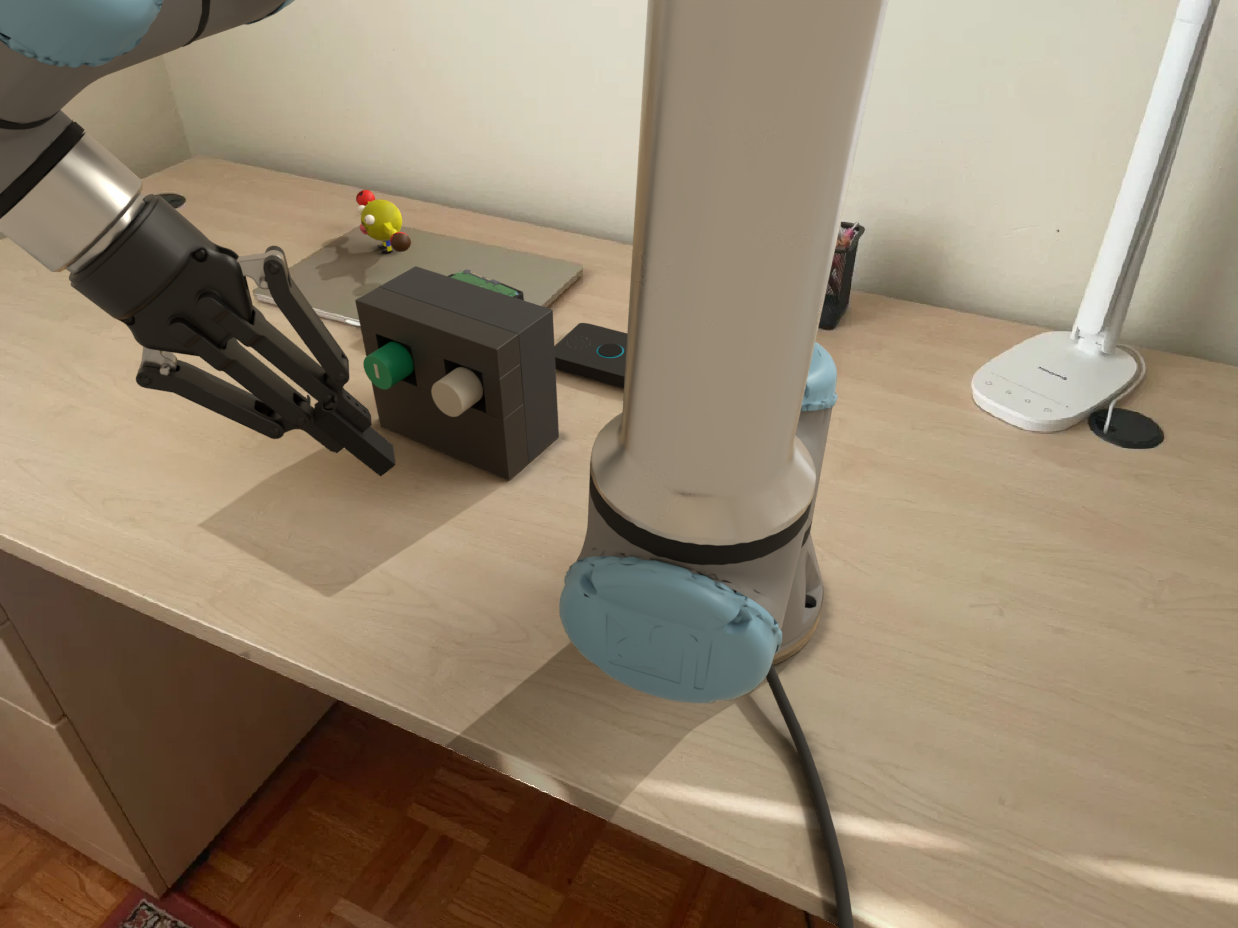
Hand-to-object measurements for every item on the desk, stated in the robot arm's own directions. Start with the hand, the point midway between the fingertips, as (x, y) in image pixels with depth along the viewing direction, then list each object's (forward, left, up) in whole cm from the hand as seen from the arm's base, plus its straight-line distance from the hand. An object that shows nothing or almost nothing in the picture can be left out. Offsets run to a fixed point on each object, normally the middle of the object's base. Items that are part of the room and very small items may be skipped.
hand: (386, 460), depth 68 cm
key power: (+16, -2, -3) cm, 17 cm away
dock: (+16, -8, -11) cm, 21 cm away
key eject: (+10, -7, -3) cm, 13 cm away
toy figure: (+60, -5, -11) cm, 62 cm away
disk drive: (+38, -10, -11) cm, 41 cm away
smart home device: (+21, -28, -11) cm, 37 cm away
